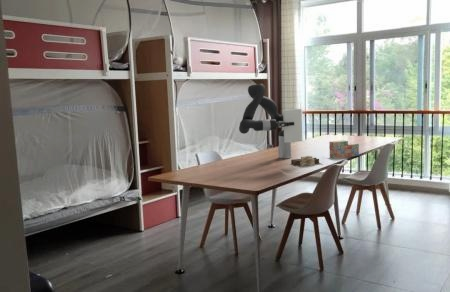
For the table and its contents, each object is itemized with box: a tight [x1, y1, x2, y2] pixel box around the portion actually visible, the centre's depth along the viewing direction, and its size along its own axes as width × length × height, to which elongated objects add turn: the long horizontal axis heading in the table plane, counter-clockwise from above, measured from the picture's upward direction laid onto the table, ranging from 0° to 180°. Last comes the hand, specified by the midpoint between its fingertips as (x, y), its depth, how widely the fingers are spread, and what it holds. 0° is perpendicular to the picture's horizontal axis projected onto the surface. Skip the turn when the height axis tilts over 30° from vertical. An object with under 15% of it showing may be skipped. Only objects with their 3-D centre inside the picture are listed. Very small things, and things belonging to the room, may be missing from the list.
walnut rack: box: [290, 157, 324, 168], centre depth 299 cm, size 20×12×4 cm, turn 99°
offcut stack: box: [300, 155, 316, 167], centre depth 295 cm, size 9×5×6 cm, turn 99°
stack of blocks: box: [328, 139, 360, 159], centre depth 330 cm, size 21×6×12 cm, turn 105°
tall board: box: [282, 108, 303, 143], centre depth 297 cm, size 12×3×22 cm, turn 99°
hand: (293, 123), depth 297 cm, fingers closed on tall board, 3 cm apart
